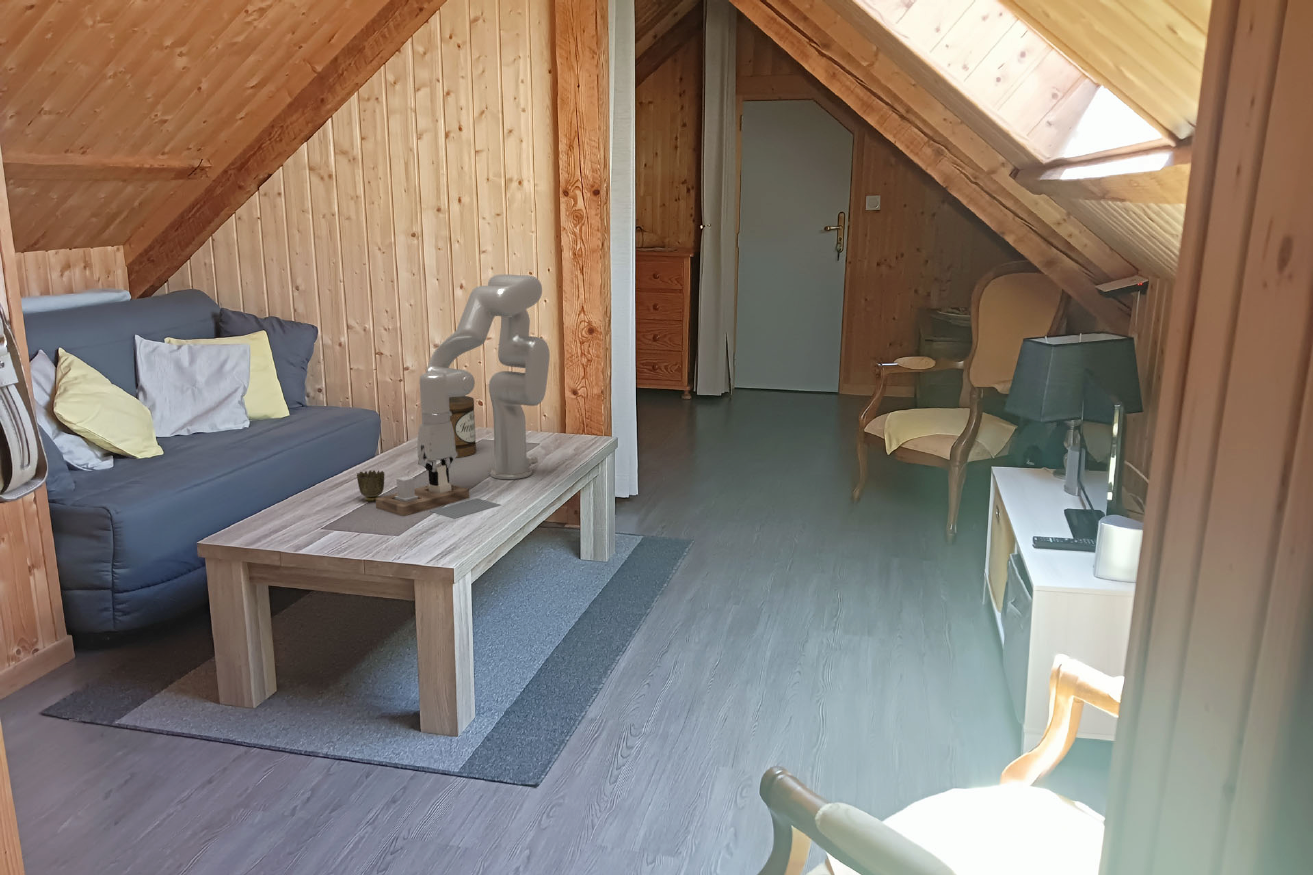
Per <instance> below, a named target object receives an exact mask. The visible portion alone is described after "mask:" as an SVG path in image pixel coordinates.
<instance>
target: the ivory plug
mask: <svg viewBox="0 0 1313 875" xmlns="http://www.w3.org/2000/svg"><path fill="white" fill-rule="evenodd" d="M436 471H437V472H438V486H434V485H430V484H428V485H427V486H428V488H429V491H430V492H433V493H437V494H440V493H444V492H448V491H451V490H452V489H451V485H452V483H451V482H449V483H448V481H447V475H446V465H441V464H436Z"/></svg>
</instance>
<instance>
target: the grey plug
mask: <svg viewBox="0 0 1313 875" xmlns="http://www.w3.org/2000/svg"><path fill="white" fill-rule="evenodd" d="M414 489H415V479H414V477H410V476H407V475H406V476H402V477H397V478H396V490H397V491H396V493H397V494H398V496H395V500H398V501H401V502H404V503H406V502H410V501H413V500H417V499H418V496H415V490H414Z"/></svg>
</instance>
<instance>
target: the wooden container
mask: <svg viewBox="0 0 1313 875" xmlns="http://www.w3.org/2000/svg"><path fill="white" fill-rule="evenodd" d="M449 411H451V412H452V415H451V416H450V421H451V422H452V426H453V431H454V437H455V450H456V452H457V454H458V455H457V457H456V458H457V459H458V458H465V457H469V455H470V456H472V455H474V454H475V453H476V452H477V446H476V443H477V442H476V440H477V438H476V422H475V420H476V419H475V400H474V398H473V397H472V396H469V395H466V396H462V397H450V398H449ZM456 458H455V459H456Z"/></svg>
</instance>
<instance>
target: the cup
mask: <svg viewBox="0 0 1313 875" xmlns="http://www.w3.org/2000/svg"><path fill="white" fill-rule="evenodd" d="M385 477H386V476H385V472H384V471H383V470H381V471H380V470H379V469H378V471H375V469H374V470H369V471H368V472H367V470H365V471H364V472H362V471H359V472H357V473H356V479H357V485H358V490H359V492H360V494H361V495H362V496H364V497H365V501H366V502H376V498H380V495H381V494H383V492H384V487H385Z"/></svg>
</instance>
